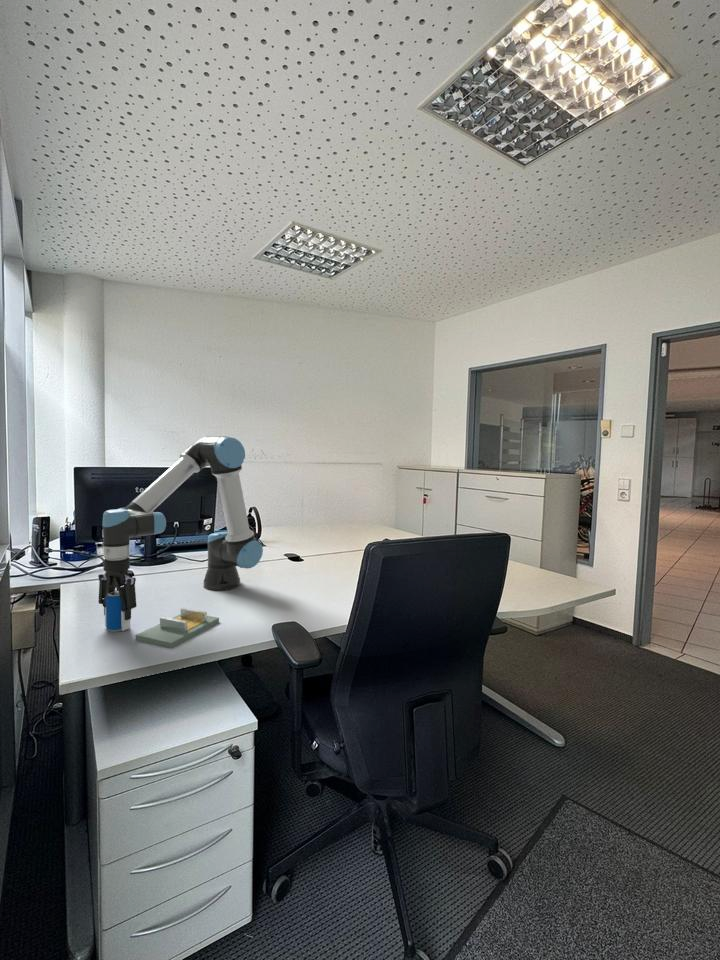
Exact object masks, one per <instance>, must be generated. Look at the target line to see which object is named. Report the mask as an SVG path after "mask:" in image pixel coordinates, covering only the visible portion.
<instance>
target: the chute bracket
mask: <svg viewBox="0 0 720 960" xmlns="http://www.w3.org/2000/svg"><path fill="white" fill-rule="evenodd" d="M207 613H208V612H207V611H203V610H199V609H198V610H197V609H192V608H189V607H188V608H187V607H181V608H180V614H181V617H179V618H177V619H172V618H173V617H172V618H171V617H168V616H167V617H166V616H161V617H160V618H159V624H160V627H162V628H167V629H172V630H177V631H181V632H186V631H188V630H190V629H192V628H194V627H196V626H198V625H199V624H201V623H203V622H205V621H207V616H208V614H207Z"/></svg>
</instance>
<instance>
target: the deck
mask: <svg viewBox="0 0 720 960" xmlns="http://www.w3.org/2000/svg"><path fill="white" fill-rule="evenodd" d="M179 617H181V613H180V614H178V615H176V616H174V617H173V616H172V619H177V618H179ZM219 622H220V617H217V616H211V615H207V621H205V622H203V623H201V624H199V625H198V626H196V627H194V628H192V629H190V630H188V631H186V632H181V631H177V630H172V629H167V628H162V627H160V623H159V624H156V625H154V626H152V627H150V628H148V629H146V630H144V631H141V632H138V633H137V634H135V641H139V642H143V643H149V644H152V645H157V646H161V647H166V648H169V649H172V648H174V647H176V646H178V645H179V644H181V643H183V642H185V641H187V640H189V639H190V638H192V637H194V636H196V635H198V634H200V633H202V632H203V631H205V630H208V628H211V627H212V626H215V625H216V624H218V623H219Z"/></svg>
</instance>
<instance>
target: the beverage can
mask: <svg viewBox="0 0 720 960" xmlns="http://www.w3.org/2000/svg"><path fill="white" fill-rule="evenodd" d="M112 593H114V595H111V594H112ZM122 610H123V606H122V602H121V598H120V595H119V591H118V590H117V589H115V591H114V592H111V593H107V596H106V627H105V628H106V630H107V631H109V632H114V633H115V632H121V631H122V627H121V611H122ZM122 632H123V631H122Z"/></svg>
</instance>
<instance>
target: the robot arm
mask: <svg viewBox="0 0 720 960" xmlns="http://www.w3.org/2000/svg"><path fill="white" fill-rule="evenodd" d="M245 459H246V450H245V447H244V445H243V444H242V442H241V441H240V440H238V439H237V438H236V437H230V436H205V437H201V438H200V439H198V440H196V441H195V442H194V443H192V444H191V445H190V446H188V447H187V448H186V449H184V450H183V452H181V453H180V454H179V459H178V460H176V461H175V462H174V463H173V464H172V465H171V466H170V467H169V468H168V469H167V470H165V471H164V472H163V473H162V474H161V475H159V476H158V477H157V478H156V479H155V480H154V481H153V482H152V483H151V484H150V485H149V486H147V487H146V488H145V490H143V491H142V492H141V493H140V494H139V495H137V496H136V497H135V498H134V499H133V500H132V501H131V502H130V503H129V504H127V505H126V506H125V507H120V508H117V509H108V510H105V511H104V512H103V513H102V523H101V524H102V525H101V527H102V542H103V543H102V544H103V547H102V548H103V549H102V551H103V553H102V554H103V555H102V556H103V560H102V561H103V562H102V563H103V566H102V567H103V571H104V572H103V573H99V574H98V580H99V584H98V604H100V605H102V606H103V615H104V628H106V596H107V593H111V592H114V591H115V590H118V591H119V595H120V598H121V602H122V606H123V610H122V611H121V627H122V632H124V631H126V630H129V629H131V620H132V610H133V609H135V608H136V607H137V595H136V581H137V579H136V577H130V576H129V573H128V571H129V569H130V568H131V563H130V562H131V561H130V560H131V559H130V556H131V552H130V541H131V539H130V538H136V537H146V536H151V535H153V536H154V535H158V534H162V533H163V532H164V531H165V530H166V527H167V519H166V517H165V514H163V512H159V511H154V510H156V509H158V507H159V506H161V504H163V502H164V501H165V500H166V499H168V498H169V497H170V495H172V494H173V493H174V492H175V491H176V490H177V489H179V487H180V486H181V485H182V484H183V483H184V482H186V481H187V480H188V479H189V478H190V477H191V476H192V475H193V474H194V473H196V474H197V473H199V472H201V470H202V469H204V468H206V467H210V471H211V475H212V476H214V477H215V478H216V481H217V486H218V491H219V495H220V496H219V497H220V502H221V506H222V511H223V515H224V522H225V525H226V526H225V527H226V530H227V531H219V532H218V531H217V532H214V533H210V534H209V535H208V537H207V543H206V544H207V569H206V573H205V575H204V579H203V588H204V589H207V590H211V591H226V590H232V589H235V588H237V587H239V586H240V585H241V577H240V575H239V572H238V569H237V567H239V568H241V569H248V570H249V569H252V568H254V567H255V566H257V564H259V563H260V560H261V559H262V557H263V551H264V549H263V545H262V544H261V543H260V541H258V540H256V537H255V536H256V535H255V532H254V531H253V530H252V529H250V525H249V520H248V515H247V509H246V503H245V499H244V493H243V489H242V488H243V487H242V483H241V477H240V473H241V471H242V470H243V467H242V465H243V463H244V460H245ZM111 595H114V593H112V594H111Z"/></svg>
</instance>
